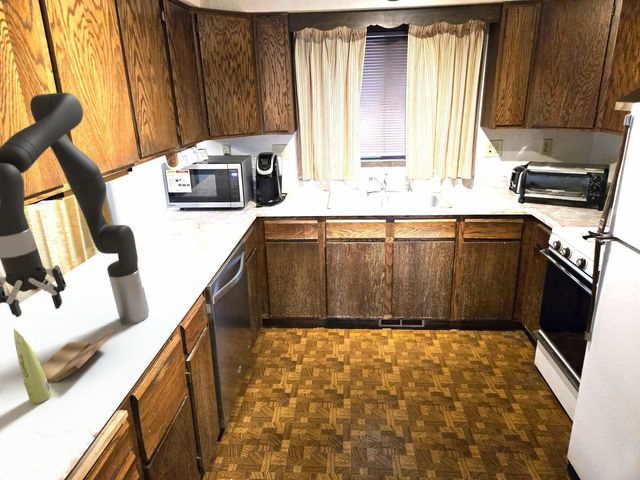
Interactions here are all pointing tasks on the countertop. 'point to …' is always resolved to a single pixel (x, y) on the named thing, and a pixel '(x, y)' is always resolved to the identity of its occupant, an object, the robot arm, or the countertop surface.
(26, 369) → the tube
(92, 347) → the plank
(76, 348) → the oak board
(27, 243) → the robot arm
